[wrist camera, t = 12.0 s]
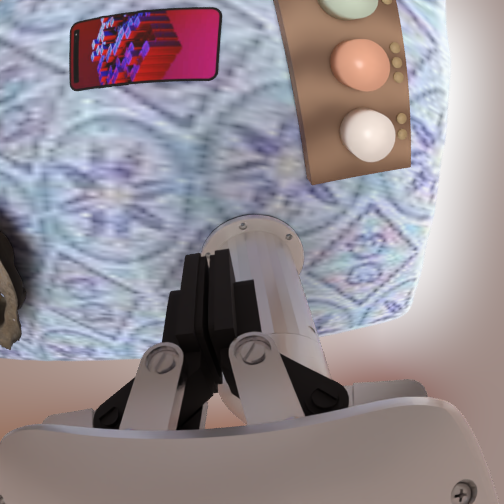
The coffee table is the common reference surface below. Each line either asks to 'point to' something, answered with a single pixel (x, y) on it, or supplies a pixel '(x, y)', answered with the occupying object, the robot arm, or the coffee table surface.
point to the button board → (342, 86)
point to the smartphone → (145, 47)
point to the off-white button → (367, 134)
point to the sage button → (348, 8)
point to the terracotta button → (360, 64)
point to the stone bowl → (9, 295)
